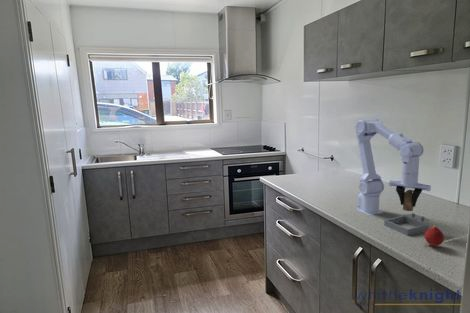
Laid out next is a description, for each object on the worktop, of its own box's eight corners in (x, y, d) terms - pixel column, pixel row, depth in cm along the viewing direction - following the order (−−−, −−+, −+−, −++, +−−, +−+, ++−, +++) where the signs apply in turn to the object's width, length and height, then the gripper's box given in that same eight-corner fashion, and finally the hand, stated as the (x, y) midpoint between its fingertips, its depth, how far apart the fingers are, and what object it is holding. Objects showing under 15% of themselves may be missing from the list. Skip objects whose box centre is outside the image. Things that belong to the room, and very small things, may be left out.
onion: (435, 242, 113) (437, 222, 112) (446, 249, 107) (448, 228, 106) (420, 243, 113) (421, 222, 112) (430, 250, 107) (432, 229, 106)
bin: (384, 226, 129) (384, 219, 128) (404, 222, 133) (404, 215, 132) (407, 237, 118) (407, 229, 118) (428, 231, 122) (428, 224, 122)
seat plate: (397, 217, 138) (397, 214, 137) (412, 214, 141) (412, 211, 140) (415, 224, 129) (415, 221, 129) (430, 221, 132) (431, 217, 132)
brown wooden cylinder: (401, 210, 125) (402, 190, 124) (404, 207, 128) (406, 189, 127) (411, 212, 122) (412, 192, 121) (414, 209, 126) (416, 190, 125)
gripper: (433, 173, 120) (430, 205, 123) (393, 168, 130) (391, 199, 132) (429, 176, 115) (427, 210, 118) (388, 172, 125) (386, 203, 127)
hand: (408, 205), depth 125 cm, fingers closed on brown wooden cylinder, 4 cm apart
